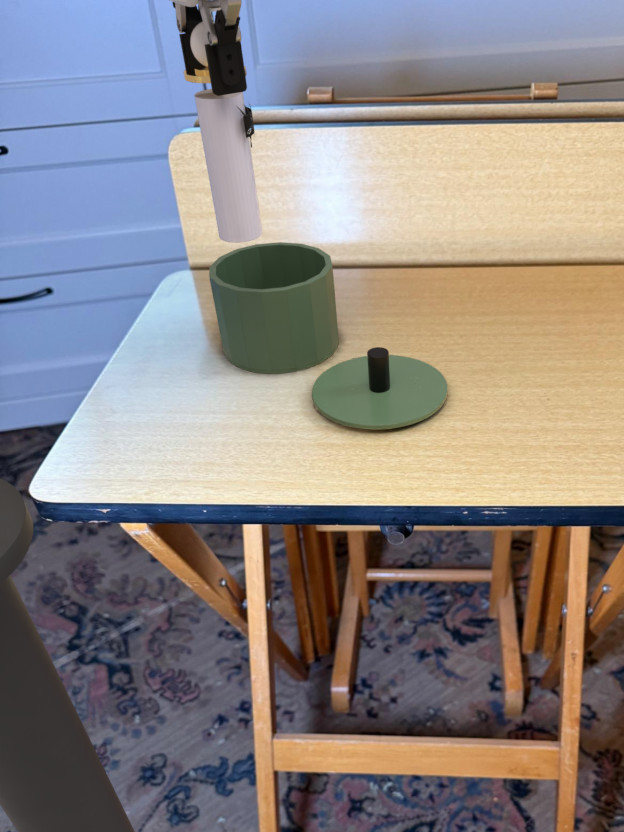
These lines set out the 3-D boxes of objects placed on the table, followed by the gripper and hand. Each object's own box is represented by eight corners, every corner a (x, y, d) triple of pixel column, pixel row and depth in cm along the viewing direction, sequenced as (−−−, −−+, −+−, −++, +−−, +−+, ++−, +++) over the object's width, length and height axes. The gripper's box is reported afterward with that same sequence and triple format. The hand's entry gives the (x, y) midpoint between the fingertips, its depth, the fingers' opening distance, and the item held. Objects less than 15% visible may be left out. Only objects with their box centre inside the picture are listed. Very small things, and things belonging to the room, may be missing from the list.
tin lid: (354, 450, 84) (351, 404, 80) (289, 387, 94) (284, 343, 90) (474, 406, 90) (476, 360, 86) (401, 351, 100) (400, 308, 96)
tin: (252, 385, 95) (238, 302, 88) (207, 338, 104) (191, 260, 97) (358, 352, 100) (353, 271, 93) (306, 309, 110) (298, 233, 103)
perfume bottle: (215, 254, 82) (174, 28, 69) (214, 234, 86) (174, 18, 73) (271, 249, 83) (240, 23, 70) (267, 229, 87) (237, 13, 74)
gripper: (99, -165, 67) (149, 76, 79) (165, -171, 56) (212, 111, 68) (184, -167, 70) (220, 65, 82) (263, -173, 59) (292, 98, 71)
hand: (216, 84), depth 75 cm, fingers closed on perfume bottle, 5 cm apart
